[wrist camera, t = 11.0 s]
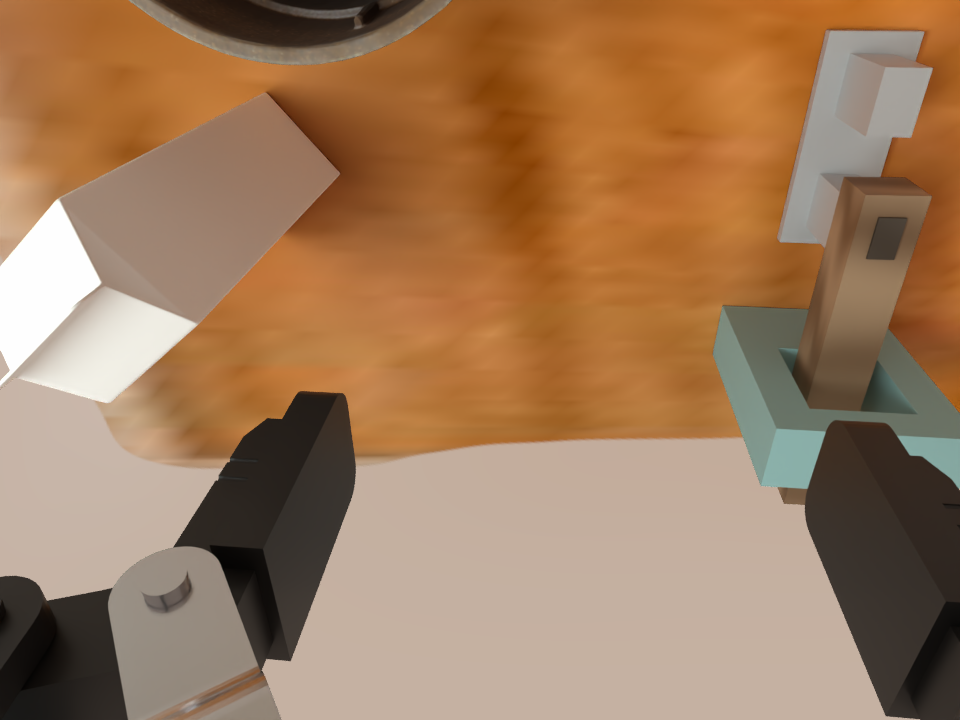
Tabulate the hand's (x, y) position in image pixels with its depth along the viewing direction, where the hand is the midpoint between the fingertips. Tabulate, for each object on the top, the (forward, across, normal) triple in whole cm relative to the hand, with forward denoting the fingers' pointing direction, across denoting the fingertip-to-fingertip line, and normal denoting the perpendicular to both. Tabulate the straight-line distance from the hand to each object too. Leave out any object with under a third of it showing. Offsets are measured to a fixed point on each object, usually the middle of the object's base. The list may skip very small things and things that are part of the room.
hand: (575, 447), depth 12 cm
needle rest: (+30, -15, +2) cm, 34 cm away
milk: (+30, +17, +4) cm, 35 cm away
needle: (+25, -15, +12) cm, 31 cm away
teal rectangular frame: (+30, -15, +14) cm, 36 cm away
